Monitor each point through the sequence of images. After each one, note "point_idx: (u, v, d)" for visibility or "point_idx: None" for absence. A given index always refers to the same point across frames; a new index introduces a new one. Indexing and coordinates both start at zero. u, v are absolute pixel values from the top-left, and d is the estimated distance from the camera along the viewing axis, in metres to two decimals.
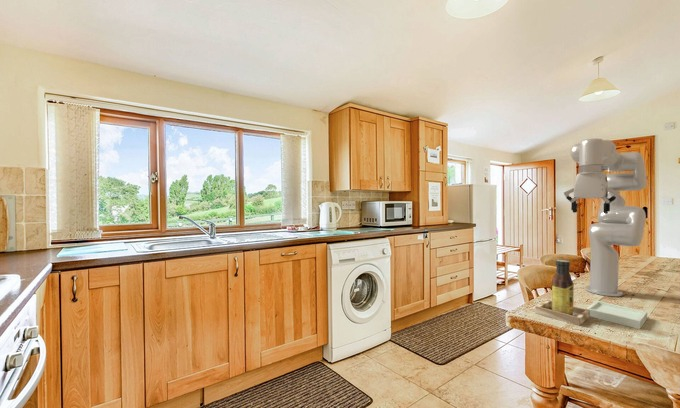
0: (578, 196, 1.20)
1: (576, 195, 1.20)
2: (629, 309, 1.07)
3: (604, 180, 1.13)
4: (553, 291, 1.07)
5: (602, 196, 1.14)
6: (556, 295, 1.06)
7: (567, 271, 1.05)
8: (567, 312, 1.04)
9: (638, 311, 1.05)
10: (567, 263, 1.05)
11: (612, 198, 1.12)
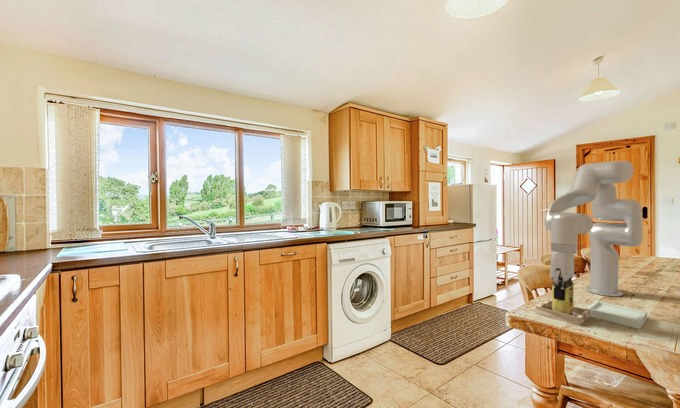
0: (566, 279, 1.03)
1: (566, 279, 1.03)
2: (629, 309, 1.07)
3: None
4: (553, 291, 1.07)
5: (573, 276, 1.08)
6: None
7: None
8: (567, 312, 1.04)
9: (638, 311, 1.05)
10: None
11: None
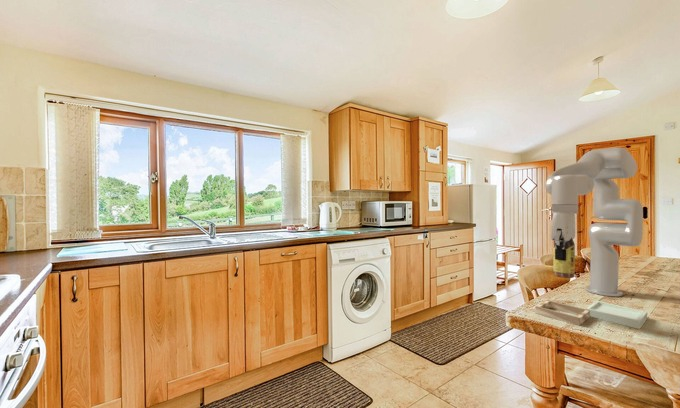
0: (567, 239, 1.03)
1: (567, 238, 1.03)
2: (629, 309, 1.07)
3: None
4: (554, 252, 1.07)
5: (574, 237, 1.07)
6: None
7: None
8: (568, 272, 1.04)
9: (638, 311, 1.05)
10: None
11: None
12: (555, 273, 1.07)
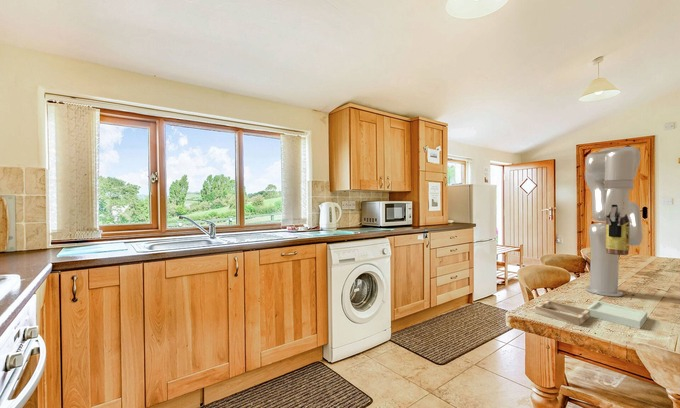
0: (623, 216, 1.01)
1: (623, 214, 1.01)
2: (629, 309, 1.07)
3: None
4: (607, 230, 1.06)
5: (627, 215, 1.06)
6: None
7: None
8: (624, 249, 1.02)
9: (638, 311, 1.05)
10: None
11: None
12: (608, 250, 1.05)
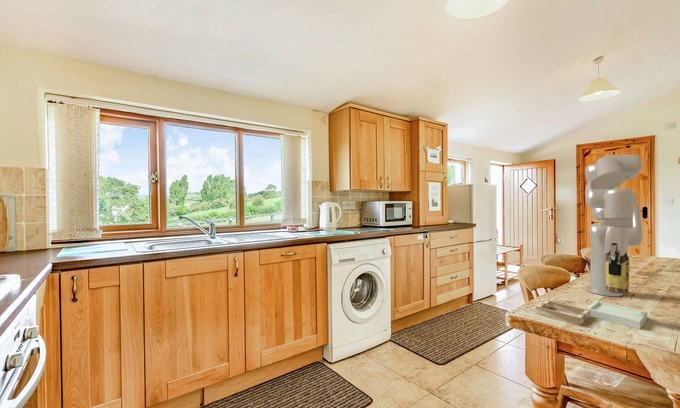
0: (622, 254, 1.02)
1: (622, 253, 1.01)
2: (629, 309, 1.07)
3: None
4: (607, 267, 1.06)
5: (627, 252, 1.06)
6: None
7: None
8: (623, 287, 1.02)
9: (638, 311, 1.05)
10: None
11: None
12: (608, 288, 1.05)
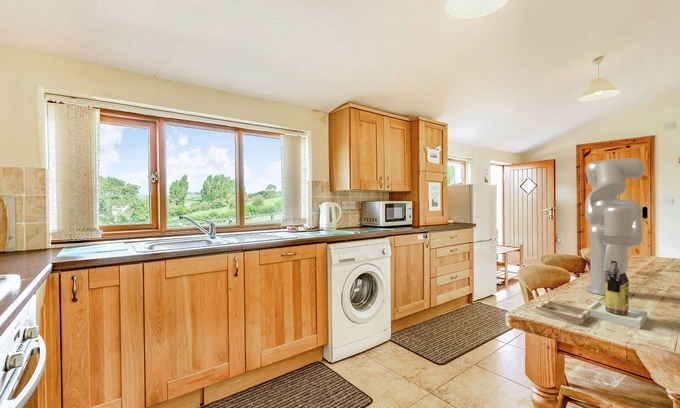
0: (622, 272, 1.02)
1: (622, 271, 1.01)
2: (629, 309, 1.07)
3: None
4: None
5: (626, 269, 1.06)
6: (611, 292, 1.05)
7: None
8: (623, 309, 1.03)
9: (638, 311, 1.05)
10: None
11: None
12: (608, 309, 1.06)
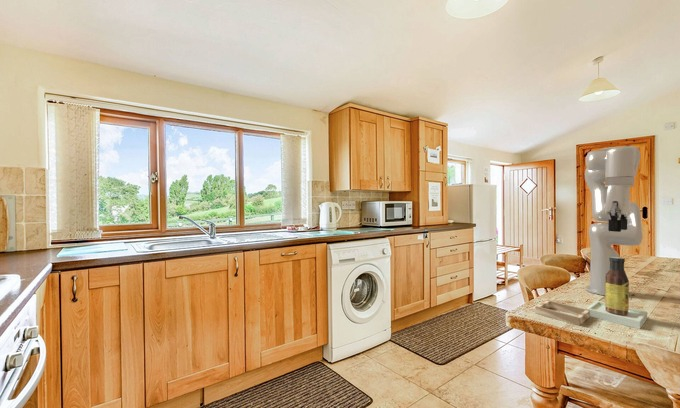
0: (623, 212, 1.01)
1: (623, 211, 1.01)
2: (629, 309, 1.07)
3: None
4: (607, 288, 1.06)
5: (628, 211, 1.06)
6: (611, 292, 1.05)
7: (622, 268, 1.04)
8: (623, 309, 1.03)
9: (638, 311, 1.05)
10: (622, 260, 1.04)
11: None
12: (608, 309, 1.06)
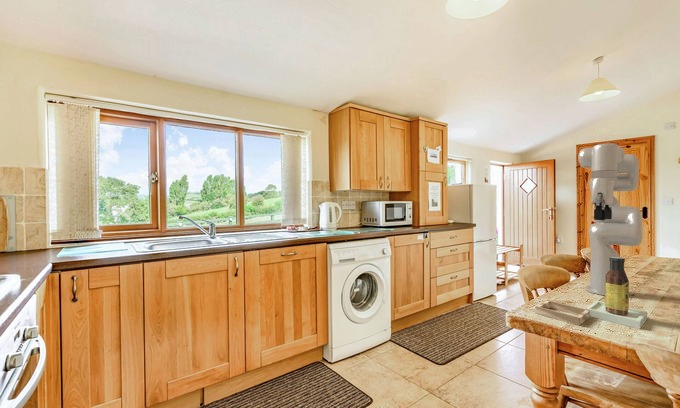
0: (607, 202, 1.11)
1: (607, 201, 1.11)
2: (629, 309, 1.07)
3: None
4: (607, 288, 1.06)
5: (612, 202, 1.16)
6: (611, 292, 1.05)
7: (622, 268, 1.04)
8: (623, 309, 1.03)
9: (638, 311, 1.05)
10: (622, 260, 1.04)
11: None
12: (608, 309, 1.06)
